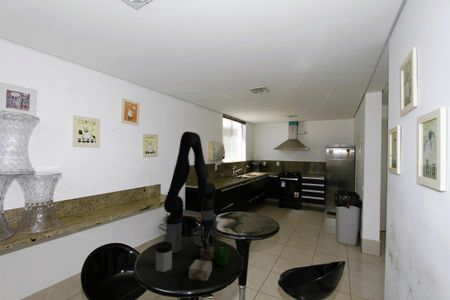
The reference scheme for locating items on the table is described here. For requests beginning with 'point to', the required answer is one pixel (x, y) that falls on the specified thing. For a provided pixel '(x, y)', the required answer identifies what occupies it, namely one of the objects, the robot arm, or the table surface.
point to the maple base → (200, 270)
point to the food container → (198, 240)
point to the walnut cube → (207, 253)
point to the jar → (163, 256)
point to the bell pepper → (222, 256)
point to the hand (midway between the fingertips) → (207, 246)
